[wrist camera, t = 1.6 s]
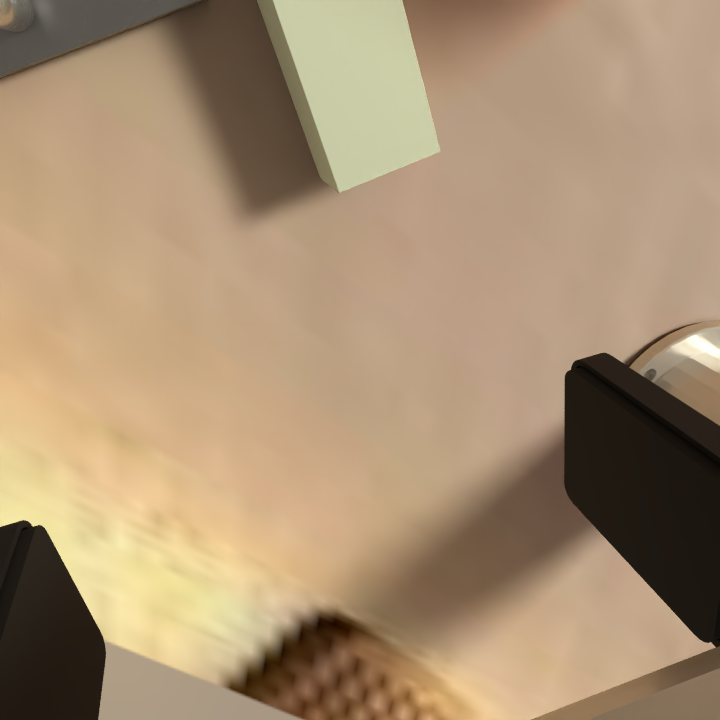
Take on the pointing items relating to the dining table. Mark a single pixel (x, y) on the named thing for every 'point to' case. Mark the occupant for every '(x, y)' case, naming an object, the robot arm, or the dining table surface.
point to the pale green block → (353, 85)
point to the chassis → (69, 26)
